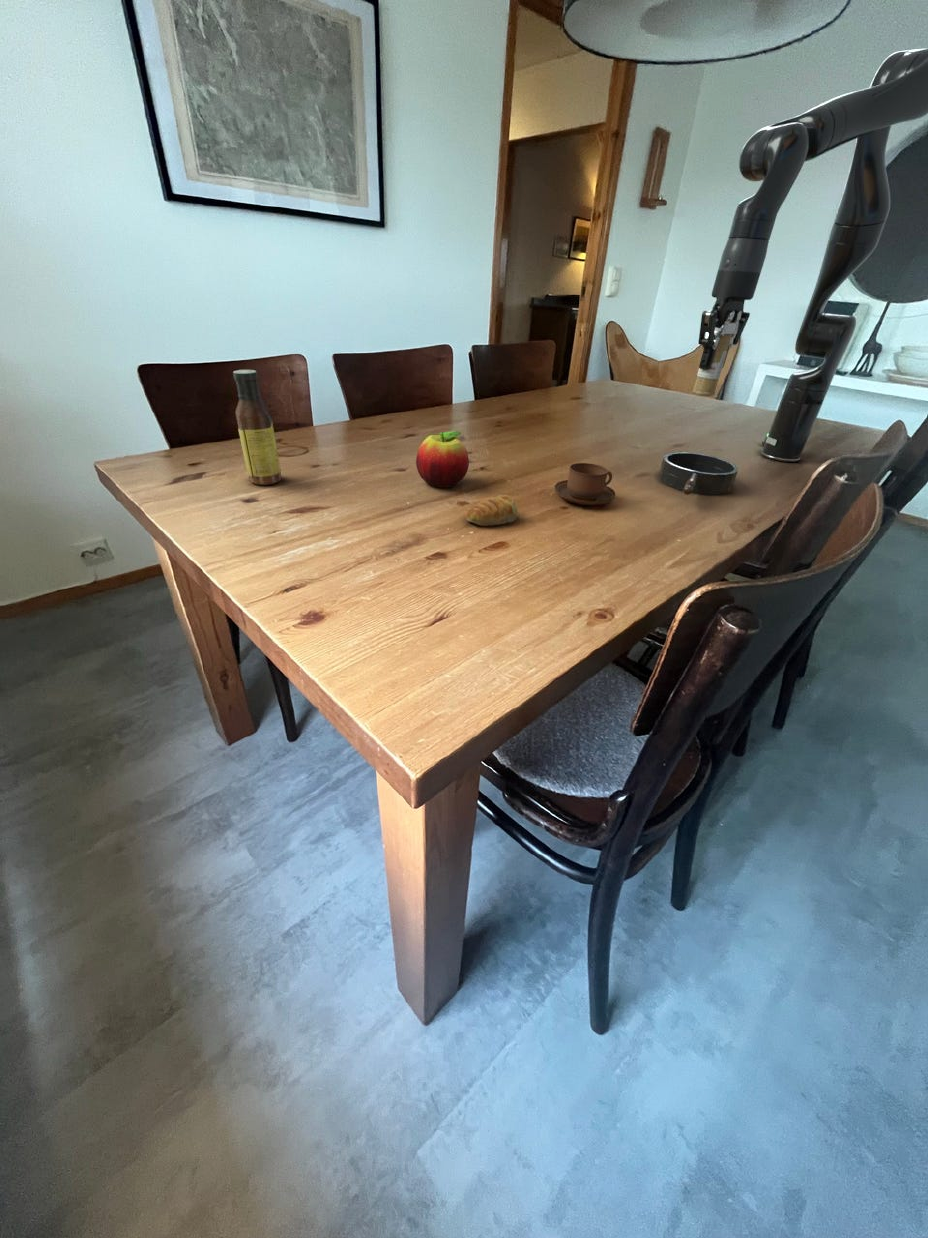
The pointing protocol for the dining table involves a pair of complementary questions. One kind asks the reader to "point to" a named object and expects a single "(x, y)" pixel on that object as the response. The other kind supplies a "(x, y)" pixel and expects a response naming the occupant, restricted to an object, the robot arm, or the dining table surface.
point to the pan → (698, 472)
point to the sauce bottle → (256, 431)
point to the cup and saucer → (586, 485)
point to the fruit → (442, 460)
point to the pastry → (493, 511)
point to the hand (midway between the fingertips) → (710, 368)
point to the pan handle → (690, 484)
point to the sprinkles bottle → (714, 365)
